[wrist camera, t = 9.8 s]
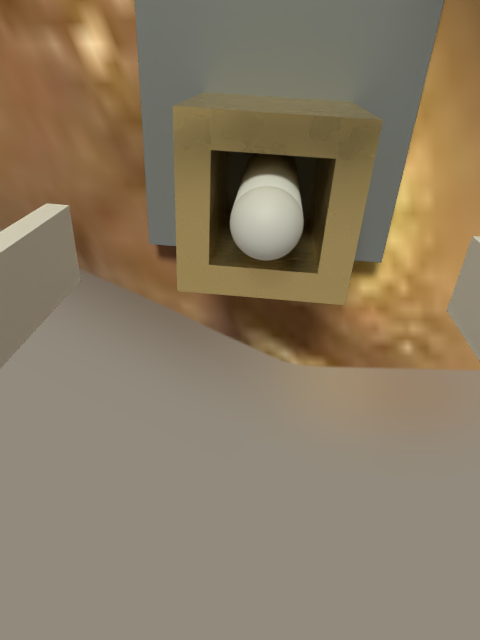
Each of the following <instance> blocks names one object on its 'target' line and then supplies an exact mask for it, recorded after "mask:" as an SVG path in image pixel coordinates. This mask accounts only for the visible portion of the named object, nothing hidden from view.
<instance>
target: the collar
mask: <svg viewBox="0 0 480 640" xmlns="http://www.w3.org/2000/svg"><path fill="white" fill-rule="evenodd" d="M382 122H383V120H382V119H381V118H379V117H377V116H376V115H374V114H372V113H371V112H369V111H367V110H366V109H364V108H362V107H361V106H359V105H357V104H355V103H354V102H346V101H331V100H316V99H300V98H285V97H270V96H254V95H239V94H223V93H208V92H204V93H201V94H199V95H197V96H194V97H192V98H190V99H187V100H185V101H183V102H180V103H178V104H176V105H173V141H174V180H175V219H176V258H177V291H184V292H196V293H207V294H219V295H231V296H243V297H254V298H266V299H278V300H290V301H302V302H313V303H325V304H337V305H345V303H346V298H347V293H348V288H349V283H350V278H351V274H352V269H353V264H354V259H355V254H356V249H357V244H358V239H359V234H360V230H361V225H362V220H363V215H364V210H365V205H366V200H367V195H368V191H369V186H370V181H371V176H372V171H373V166H374V161H375V156H376V152H377V147H378V142H379V137H380V132H381V127H382ZM230 151H233V152H247V153H261V154H275V155H289V156H303V157H317V159H316V166H315V174H314V181H313V188H312V195H311V203H310V210H309V217H308V218H303V219H304V224H303V232H302V235H301V237H300V239H299V241H298V243H297V245H296V246H295V247H294V248H293V249H292V250H291V251H290V252H289V253H288V254H286V255H285V256H283V257H281V258H278V259H274V260H258V259H255V258H252V257H250V256H248V255H247V254H245V253H244V252H243V251H242V250H241V249H240V248H239V247H238V246H237V245H236V243H235V241H234V239H233V237H232V234H231V230H230V216H231V212H227V206H228V180H229V153H230Z"/></svg>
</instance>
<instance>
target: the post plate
mask: <svg viewBox="0 0 480 640" xmlns="http://www.w3.org/2000/svg"><path fill="white" fill-rule="evenodd" d="M443 3H444V0H135V12H136V28H137V45H138V62H139V78H140V95H141V111H142V128H143V144H144V161H145V178H146V194H147V211H148V227H149V244H155V245H167V246H176V219H175V180H174V141H173V105H176V104H178V103H180V102H183V101H185V100H187V99H190V98H192V97H194V96H197V95H199V94H201V93H204V92H208V93H223V94H239V95H254V96H270V97H285V98H300V99H316V100H331V101H346V102H354V103H355V104H357V105H359V106H361V107H362V108H364V109H366V110H367V111H369V112H371V113H372V114H374V115H376V116H377V117H379V118H381V119H382V120H383V122H382V127H381V132H380V137H379V142H378V147H377V152H376V156H375V161H374V166H373V171H372V176H371V181H370V186H369V191H368V195H367V200H366V205H365V210H364V215H363V220H362V225H361V230H360V234H359V239H358V244H357V249H356V254H355V259H354V260H355V261H368V262H380V263H381V262H382V258H383V253H384V249H385V245H386V241H387V237H388V233H389V228H390V224H391V220H392V216H393V212H394V208H395V203H396V199H397V195H398V191H399V187H400V183H401V178H402V174H403V170H404V166H405V162H406V158H407V153H408V149H409V145H410V141H411V137H412V133H413V128H414V124H415V120H416V116H417V112H418V108H419V103H420V99H421V95H422V91H423V87H424V83H425V78H426V74H427V70H428V66H429V62H430V58H431V53H432V49H433V45H434V41H435V37H436V33H437V28H438V24H439V20H440V16H441V12H442V8H443ZM316 159H317V157H303V156H289V155H275V154H261V153H247V152H233V151H230V153H229V180H228V206H227V212H231V216H230V230H231V234H232V237H233V239H234V241H235V243H236V245H237V246H238V247H239V248H240V249H241V250H242V251H243V252H244V253H245V254H247V255H248V256H250V257H252V258H255V259H258V260H274V259H278V258H281V257H283V256H285V255H286V254H288V253H289V252H290V251H291V250H292V249H293V248H294V247H295V246H296V245H297V243H298V241H299V239H300V237H301V235H302V232H303V224H304V219H303V218H308V217H309V210H310V203H311V195H312V188H313V181H314V174H315V166H316Z"/></svg>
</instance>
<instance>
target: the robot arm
mask: <svg viewBox="0 0 480 640" xmlns="http://www.w3.org/2000/svg"><path fill="white" fill-rule="evenodd" d="M79 281H80V273H79V267H78V261H77V254H76V248H75V241H74V235H73V228H72V222H71V215H70V209H69V205H58V204H45V205H43V206H42V207H40V208H38V209H37V210H35V211H34V212H32V213H30V214H29V215H27V216H25V217H24V218H22V219H21V220H19V221H17V222H16V223H14V224H12V225H11V226H9V227H8V228H6V229H4V230H3V231H1V232H0V368H2V366H3V365H4V364H5V363H6V362H7V361H8V360H9V358H11V356H12V355H13V354H14V353H15V352H16V351H17V350H18V349H19V348H20V346H21V345H22V344H23V343H24V342H25V341H26V340H27V339H28V338H29V336H30V335H31V334H32V333H33V332H34V331H35V330H36V329H37V328H38V327H39V326H40V325H41V323H42V322H43V321H44V320H45V319H46V318H47V317H48V316H49V315H50V314H51V312H52V311H53V310H54V309H55V308H56V307H57V306H58V304H60V302H61V301H62V300H63V299H64V298H65V297H66V296H67V295H68V294H69V293H70V291H71V290H72V289H73V288H74V287H75V286H76V285H77V284H78V283H79ZM447 312H448V314H449V315H450V317H451V319H452V320H453V322H454V323H455V325H456V326H457V328H458V329H459V331H460V332H461V334H462V335H463V337H464V338H465V340H466V341H467V343H468V344H469V346H470V347H471V349H472V350H473V352H474V354H475V355H476V357H477V358H478V360H479V361H480V237H476V236H472V239H471V242H470V245H469V248H468V251H467V254H466V257H465V260H464V262H463V265H462V268H461V271H460V274H459V277H458V280H457V283H456V285H455V288H454V291H453V294H452V297H451V300H450V303H449V306H448V309H447Z"/></svg>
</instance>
